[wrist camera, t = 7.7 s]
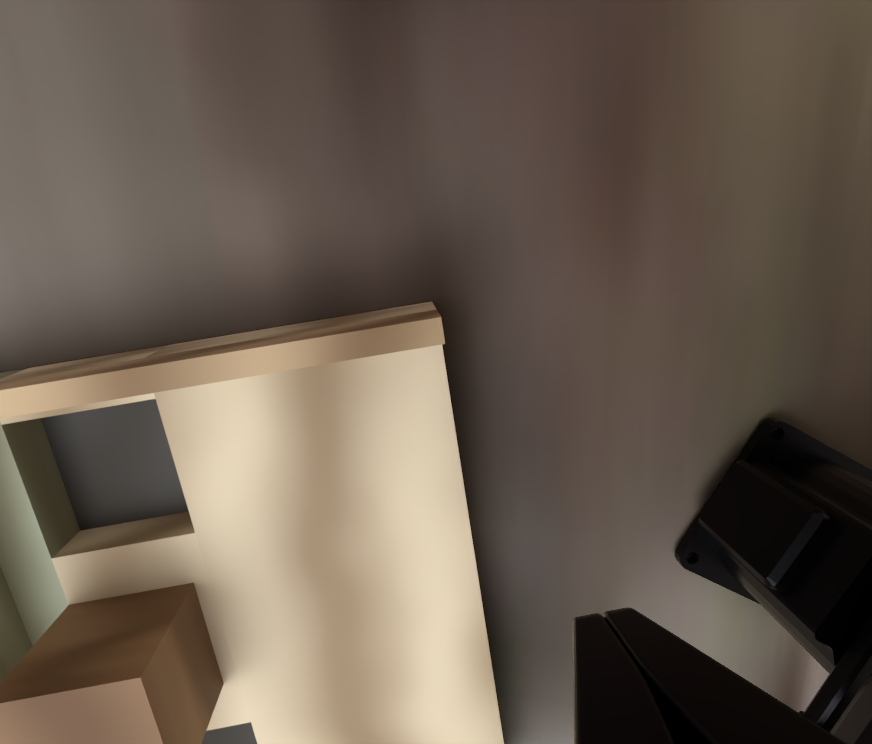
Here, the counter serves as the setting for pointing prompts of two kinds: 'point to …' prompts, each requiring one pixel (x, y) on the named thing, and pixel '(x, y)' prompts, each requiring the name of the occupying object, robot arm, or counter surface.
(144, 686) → the walnut block
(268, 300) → the counter surface
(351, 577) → the trap track
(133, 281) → the counter surface
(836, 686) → the robot arm
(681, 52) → the counter surface
